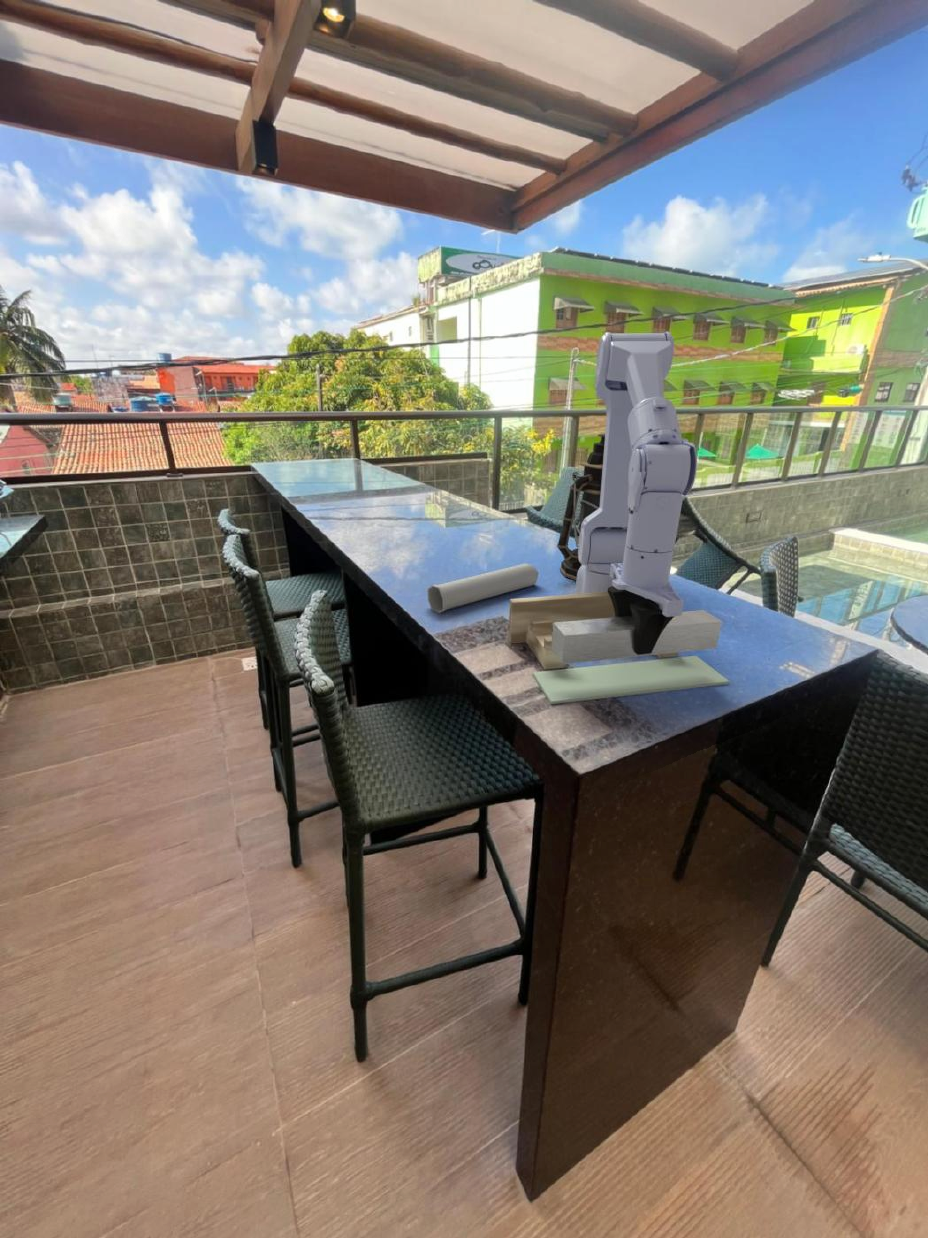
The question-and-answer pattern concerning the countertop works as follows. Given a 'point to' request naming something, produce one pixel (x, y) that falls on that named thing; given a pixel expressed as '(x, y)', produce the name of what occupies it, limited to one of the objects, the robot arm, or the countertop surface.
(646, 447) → the robot arm
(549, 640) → the rail stand
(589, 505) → the lantern
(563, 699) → the mat
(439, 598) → the tube
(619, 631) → the rail
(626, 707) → the countertop surface
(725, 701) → the countertop surface
